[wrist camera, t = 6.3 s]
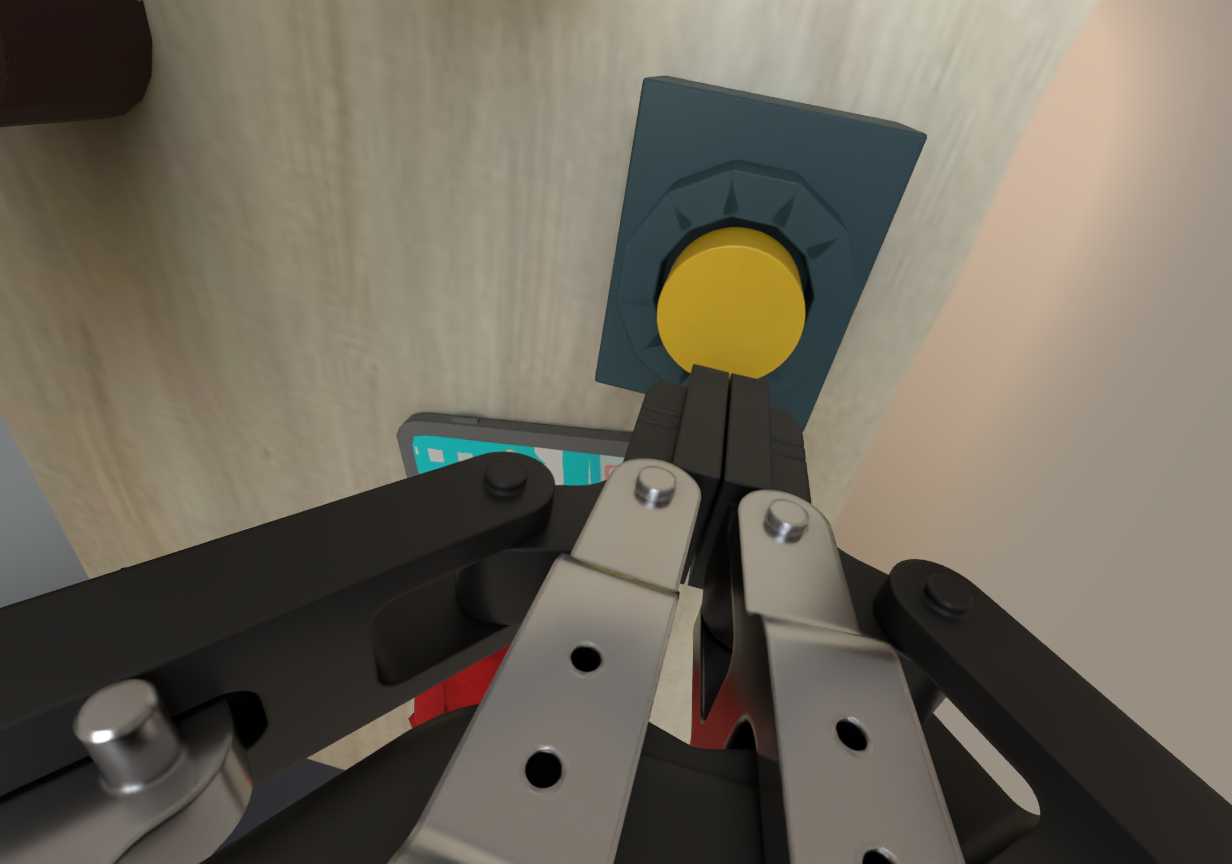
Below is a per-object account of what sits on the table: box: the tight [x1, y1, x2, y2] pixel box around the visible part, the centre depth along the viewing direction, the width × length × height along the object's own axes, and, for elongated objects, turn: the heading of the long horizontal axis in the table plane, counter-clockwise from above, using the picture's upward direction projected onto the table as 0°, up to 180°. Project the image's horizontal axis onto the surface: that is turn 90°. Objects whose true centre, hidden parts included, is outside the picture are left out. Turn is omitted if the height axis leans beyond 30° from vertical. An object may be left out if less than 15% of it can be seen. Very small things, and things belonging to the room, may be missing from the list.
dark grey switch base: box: [595, 76, 927, 432], centre depth 20 cm, size 10×8×6 cm
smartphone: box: [397, 414, 632, 485], centre depth 30 cm, size 9×1×15 cm
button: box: [657, 227, 805, 379], centre depth 17 cm, size 4×4×2 cm
